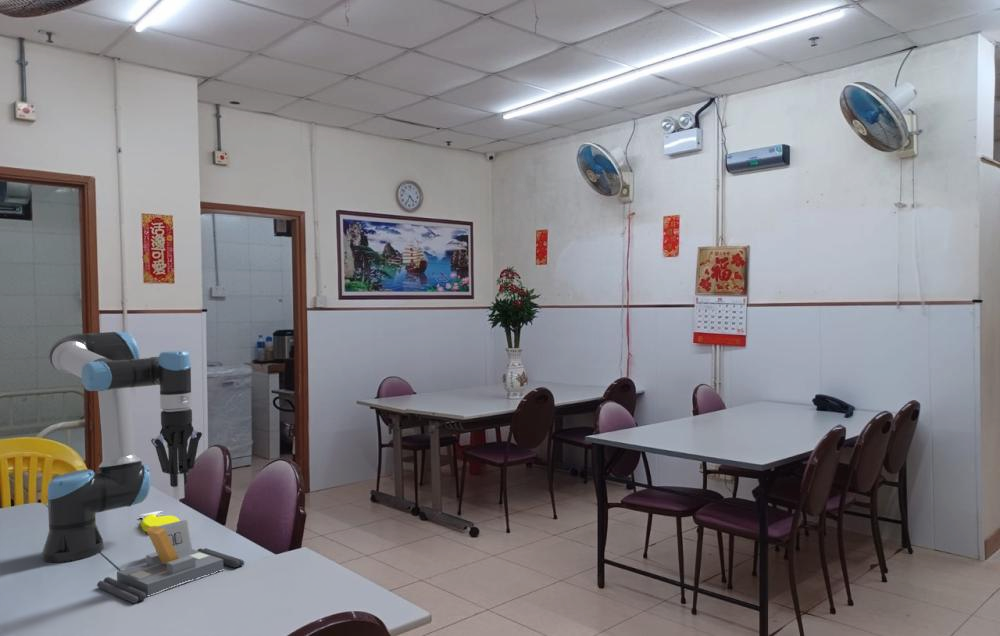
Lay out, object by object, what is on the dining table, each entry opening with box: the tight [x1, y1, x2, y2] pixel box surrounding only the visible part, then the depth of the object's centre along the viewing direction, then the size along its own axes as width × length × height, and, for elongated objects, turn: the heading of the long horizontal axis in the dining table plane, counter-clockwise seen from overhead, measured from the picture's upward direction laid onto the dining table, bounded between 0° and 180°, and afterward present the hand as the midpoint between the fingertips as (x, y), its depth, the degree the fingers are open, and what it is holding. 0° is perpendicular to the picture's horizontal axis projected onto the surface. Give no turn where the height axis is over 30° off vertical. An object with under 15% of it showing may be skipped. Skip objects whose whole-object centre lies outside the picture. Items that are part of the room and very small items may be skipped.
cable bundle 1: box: [96, 576, 147, 604], centre depth 170 cm, size 19×3×2 cm, turn 53°
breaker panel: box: [116, 548, 224, 595], centre depth 180 cm, size 16×20×5 cm
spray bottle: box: [139, 510, 181, 533], centre depth 229 cm, size 3×11×24 cm
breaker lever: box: [146, 526, 179, 564], centre depth 179 cm, size 7×2×11 cm, turn 53°
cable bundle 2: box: [196, 547, 245, 569], centre depth 191 cm, size 19×3×2 cm, turn 53°
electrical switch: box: [155, 519, 193, 553], centre depth 198 cm, size 9×5×9 cm, turn 141°
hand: (179, 497), depth 183 cm, fingers closed
